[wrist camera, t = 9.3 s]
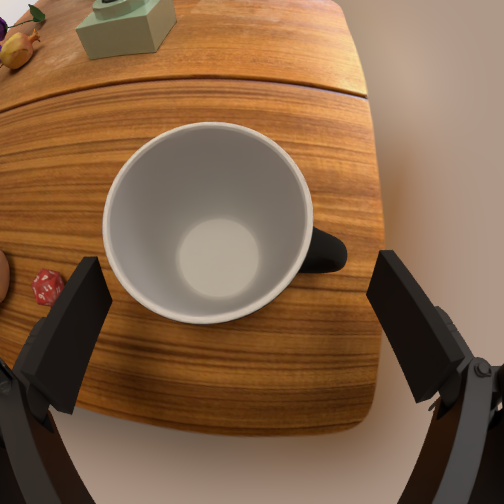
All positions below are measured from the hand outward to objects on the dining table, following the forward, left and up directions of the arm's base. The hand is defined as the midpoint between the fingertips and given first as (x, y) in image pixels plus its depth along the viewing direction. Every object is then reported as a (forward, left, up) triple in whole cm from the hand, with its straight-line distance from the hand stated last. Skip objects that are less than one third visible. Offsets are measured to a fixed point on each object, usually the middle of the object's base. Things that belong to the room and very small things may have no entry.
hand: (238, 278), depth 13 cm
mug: (0, -2, -8) cm, 9 cm away
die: (+15, +3, -8) cm, 18 cm away
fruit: (+43, -30, -8) cm, 53 cm away
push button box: (+19, -29, -8) cm, 36 cm away
